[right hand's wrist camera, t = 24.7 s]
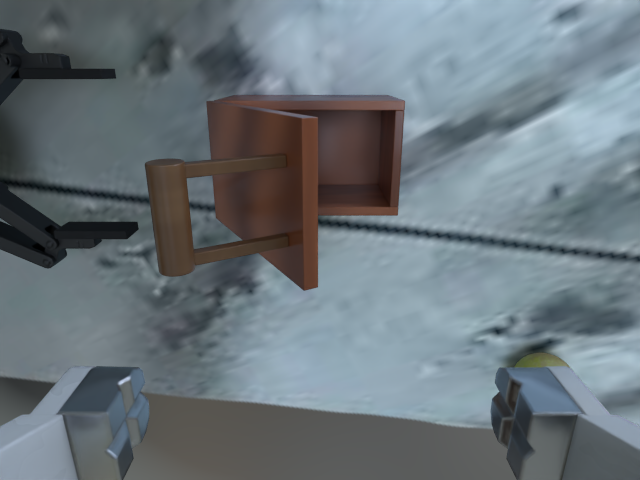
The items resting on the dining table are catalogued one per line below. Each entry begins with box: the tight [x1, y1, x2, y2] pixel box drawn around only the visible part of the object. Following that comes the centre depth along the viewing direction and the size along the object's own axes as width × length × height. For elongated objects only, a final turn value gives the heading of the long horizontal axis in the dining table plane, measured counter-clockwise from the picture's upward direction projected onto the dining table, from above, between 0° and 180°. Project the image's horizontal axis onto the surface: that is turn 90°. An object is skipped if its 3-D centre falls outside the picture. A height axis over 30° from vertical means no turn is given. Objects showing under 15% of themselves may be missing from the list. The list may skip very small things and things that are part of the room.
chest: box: [215, 95, 405, 215], centre depth 42 cm, size 15×10×9 cm, turn 90°
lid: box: [145, 101, 318, 291], centre depth 29 cm, size 16×10×8 cm
